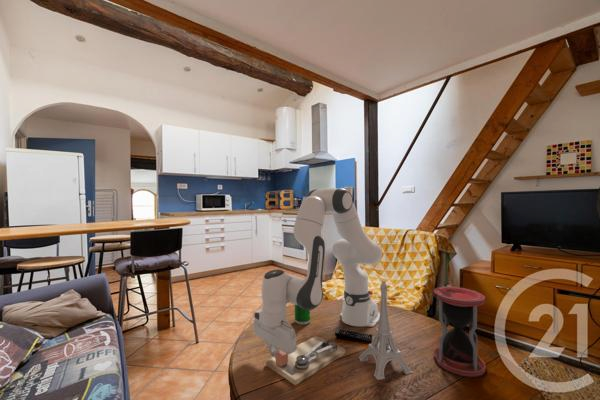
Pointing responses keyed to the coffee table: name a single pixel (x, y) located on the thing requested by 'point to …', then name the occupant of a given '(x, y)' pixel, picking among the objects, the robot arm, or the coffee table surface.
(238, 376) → the coffee table surface
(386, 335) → the eiffel tower
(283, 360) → the salmon pink block
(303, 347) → the board
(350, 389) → the coffee table surface
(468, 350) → the hourglass
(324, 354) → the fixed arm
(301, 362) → the tong arm
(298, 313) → the soda can
